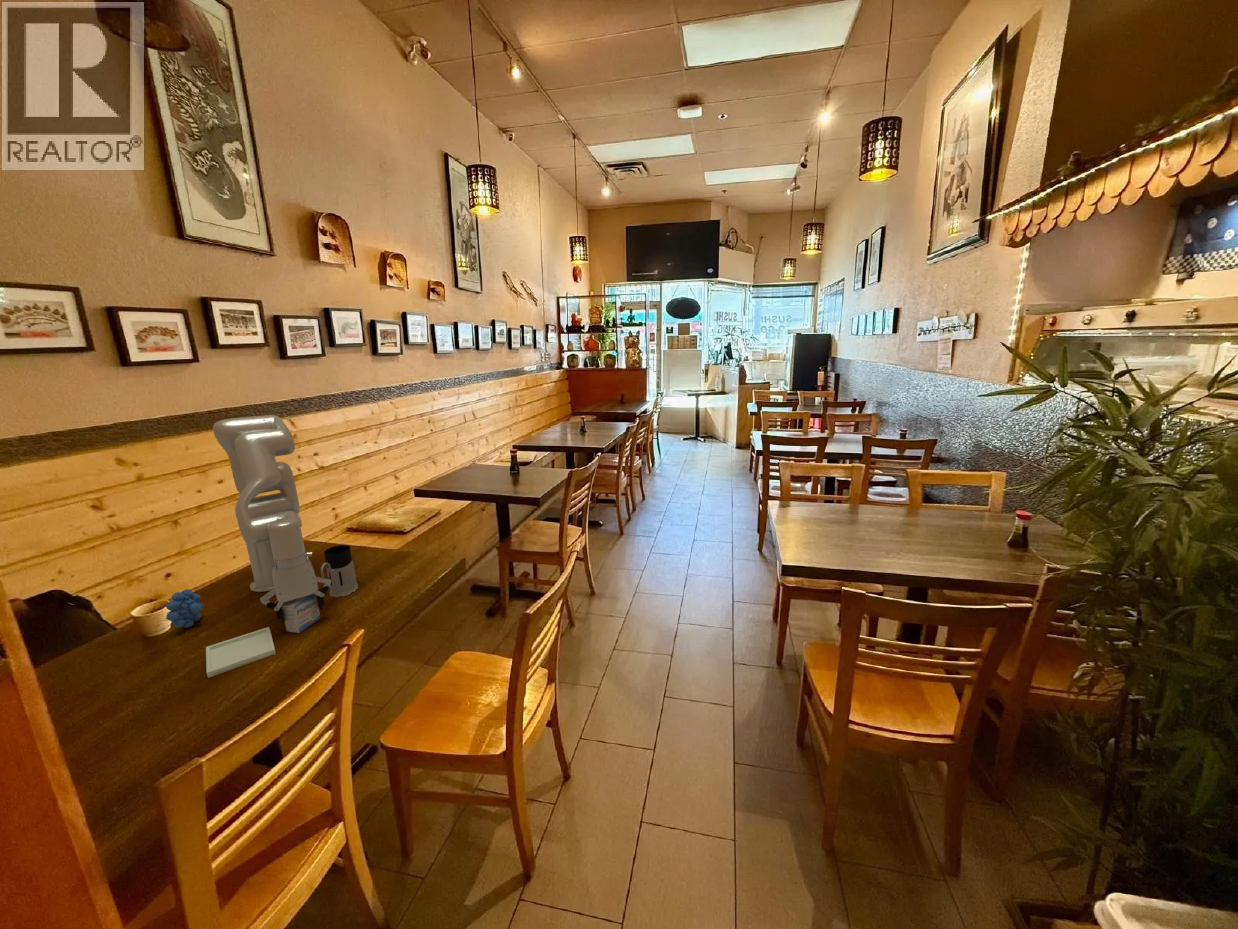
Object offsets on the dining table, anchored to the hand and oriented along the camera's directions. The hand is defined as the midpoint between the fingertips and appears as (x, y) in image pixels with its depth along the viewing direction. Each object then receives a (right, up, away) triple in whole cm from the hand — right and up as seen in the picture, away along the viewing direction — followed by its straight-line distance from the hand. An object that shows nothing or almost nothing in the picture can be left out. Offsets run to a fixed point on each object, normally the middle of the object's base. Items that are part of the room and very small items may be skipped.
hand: (302, 614), depth 138 cm
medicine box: (0, -4, +1) cm, 4 cm away
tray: (-9, -7, -11) cm, 16 cm away
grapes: (-34, -4, +1) cm, 34 cm away
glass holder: (0, +1, +18) cm, 18 cm away
